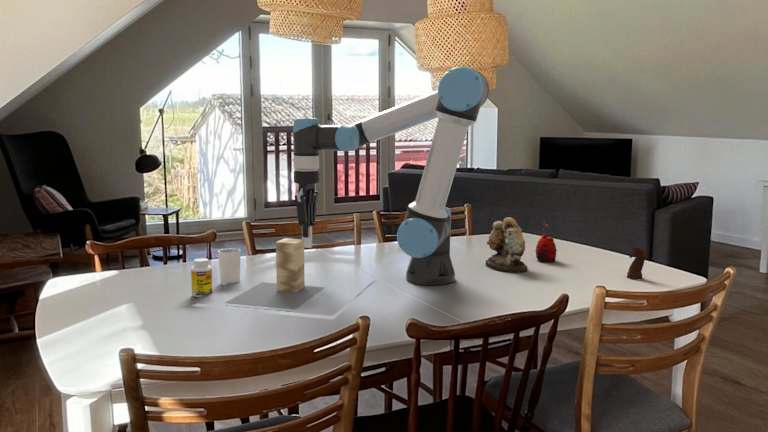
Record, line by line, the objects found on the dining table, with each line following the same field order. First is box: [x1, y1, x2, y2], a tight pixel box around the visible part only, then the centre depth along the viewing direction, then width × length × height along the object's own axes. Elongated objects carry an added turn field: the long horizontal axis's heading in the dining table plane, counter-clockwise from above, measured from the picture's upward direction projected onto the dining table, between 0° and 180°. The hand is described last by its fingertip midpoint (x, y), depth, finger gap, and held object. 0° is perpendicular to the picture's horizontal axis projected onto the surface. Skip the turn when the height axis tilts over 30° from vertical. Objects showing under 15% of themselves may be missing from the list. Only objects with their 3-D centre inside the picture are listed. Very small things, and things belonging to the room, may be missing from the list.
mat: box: [224, 281, 326, 313], centre depth 176 cm, size 20×22×1 cm
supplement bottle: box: [190, 257, 213, 298], centre depth 177 cm, size 6×6×10 cm
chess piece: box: [626, 246, 646, 280], centre depth 200 cm, size 5×5×10 cm
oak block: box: [275, 237, 306, 292], centre depth 181 cm, size 6×6×14 cm
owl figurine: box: [485, 216, 528, 274], centre depth 213 cm, size 18×12×17 cm, turn 28°
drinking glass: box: [217, 247, 242, 286], centre depth 190 cm, size 7×7×10 cm
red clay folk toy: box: [535, 220, 557, 263], centre depth 223 cm, size 8×7×15 cm
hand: (307, 247), depth 193 cm, fingers closed
